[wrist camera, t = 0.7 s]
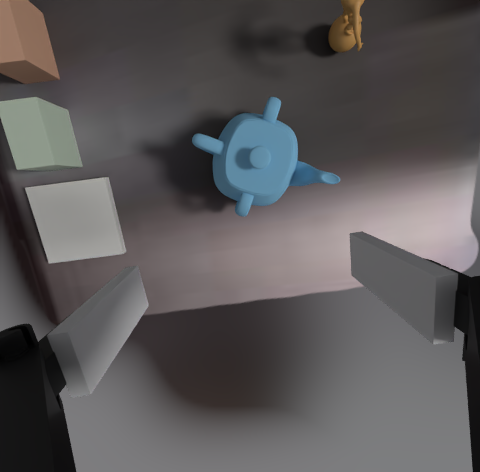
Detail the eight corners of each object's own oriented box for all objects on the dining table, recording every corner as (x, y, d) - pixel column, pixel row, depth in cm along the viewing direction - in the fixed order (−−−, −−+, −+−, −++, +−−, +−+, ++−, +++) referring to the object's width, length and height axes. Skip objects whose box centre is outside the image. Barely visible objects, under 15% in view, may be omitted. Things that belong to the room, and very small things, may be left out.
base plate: (31, 187, 38) (24, 187, 37) (108, 177, 38) (104, 177, 37) (54, 261, 41) (49, 263, 40) (126, 251, 41) (123, 253, 40)
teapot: (199, 140, 38) (180, 128, 27) (286, 97, 36) (304, 65, 25) (233, 215, 40) (230, 232, 30) (316, 178, 39) (344, 182, 28)
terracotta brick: (6, 18, 33) (-43, -16, 27) (43, 13, 33) (2, -22, 27) (25, 84, 35) (-17, 65, 29) (60, 79, 35) (25, 59, 29)
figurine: (356, 69, 36) (417, 16, 24) (316, 81, 36) (356, 34, 24) (347, 3, 34) (407, -91, 22) (303, 16, 34) (341, -69, 22)
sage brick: (34, 114, 36) (-5, 102, 30) (68, 110, 36) (36, 96, 30) (50, 171, 38) (17, 169, 32) (83, 167, 38) (55, 164, 32)
